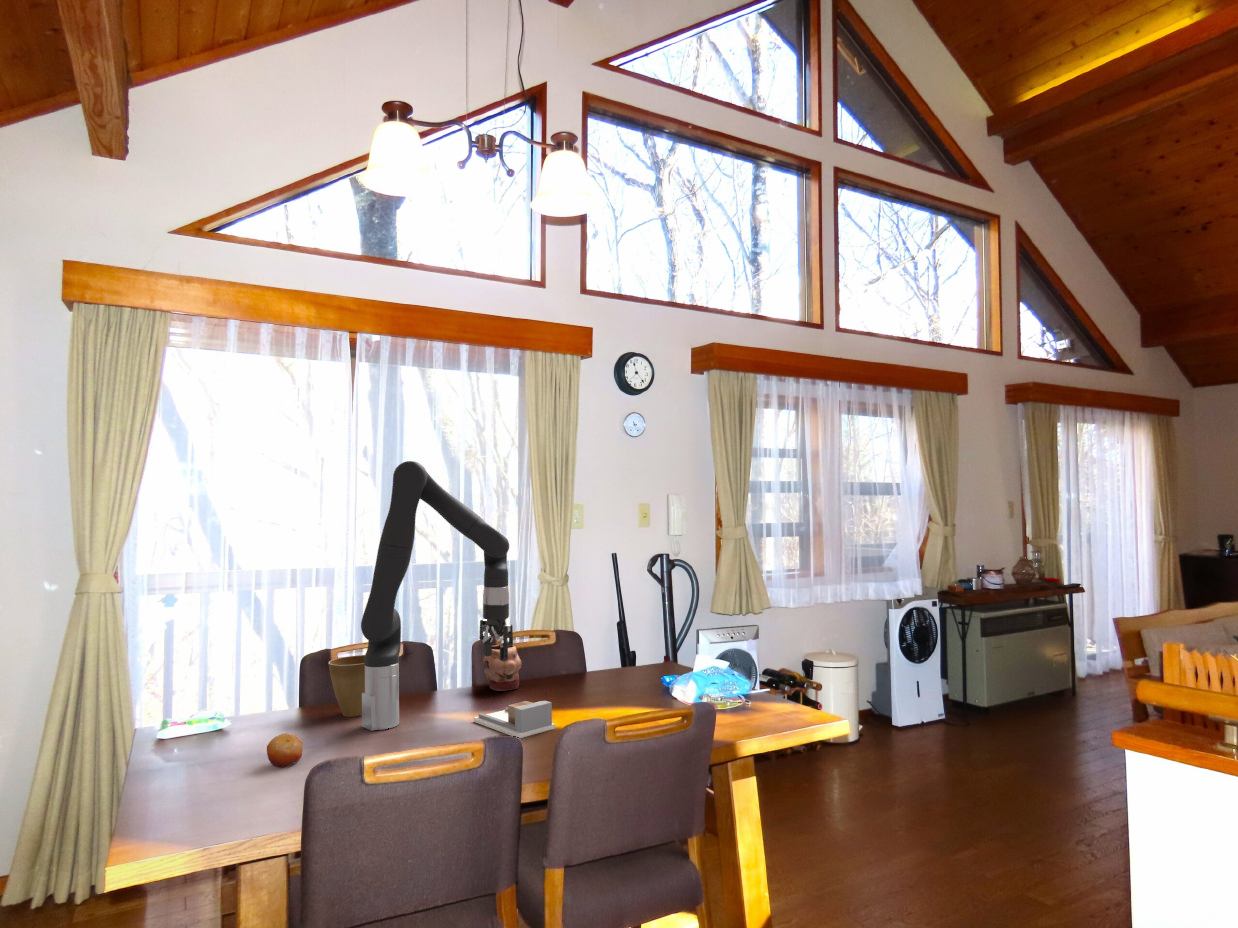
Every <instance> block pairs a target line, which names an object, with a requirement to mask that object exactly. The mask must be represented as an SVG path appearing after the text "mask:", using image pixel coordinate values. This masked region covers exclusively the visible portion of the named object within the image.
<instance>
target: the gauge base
mask: <svg viewBox="0 0 1238 928" xmlns="http://www.w3.org/2000/svg"><path fill="white" fill-rule="evenodd" d="M540 701H541V702H539V701H537V703H535V702H532V703H533V704H529V705H525V706H520V707H516V708H515V725H514V724H512V723H509V722H508V706H507V707H506V706H505V708H504V709H503V710H500V711H496V712H491V713H487V714H485V713H483V712H481V713H478V716H475V717H473V722H474V723H476V724H479V725H482V726H484V727H487V728H490V729H492V730H495V731H497V732H500V733H503V734H505V735H509V736H510V737H513V736H516V737H519V738H518V739H523V738H527V737H529V736H533V735H537V734H540V733H543V732H544V733H545V732H548V731H552V730H555V729H556V724H555V723H553V713H552V711H553V709H552V703H553V702H551V701H547V700H540ZM516 737H515V738H516Z"/></svg>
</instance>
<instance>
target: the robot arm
mask: <svg viewBox="0 0 1238 928" xmlns="http://www.w3.org/2000/svg"><path fill="white" fill-rule="evenodd" d="M392 475H393V476H392V486H391V487H392V488H391V496H390V504H389V510H388V513H387V516H386V519H385V521H384V524H383V527H382V532H381V536H380V539H379V544H378V549H377V555H376V559H375V565H374V570H373V574H372V575H373V577H372V581H371V588H370V593H369V595H368V599H367V602H366V606H365V608H364V611H363V614H362V617H361V621H360V631H361V634H362V635H363V636H364V638H365V639H366V640H367V641H368V642H367V643H368V644H367V649H366V652H365V654H364V655H365V658H364V665H365V692H362V715H361V727H362V728H364V729H367V730H369V731H371V732H372V731H378V730H379V731H381V730H387V729H388V728H389V729H393V728H395V727H398V725H399V724H400V699H399V698H400V692H399V691H400V687H399V686H400V685H399V684H400V681H399V676H400V672H399V657H400V651H401V648H402V647H401V643H402V642H401V640H402V635H401V634H402V633H401V632H402V621H401V616H400V614H399V611H397V609H396V608H395V605H396V599H397V596H398V595H397V594H398V591H399V589H400V587H401V584H402V582H403V581H404V578H405V576H406V573H407V571H408V569H409V566H410V563H411V559H412V554H413V548H414V541H415V535H416V534H415V533H416V517H417V516H416V514H417V509H418V506H419V502H420V500H422V501H423V502H424V503H425V504H427V505H429V506H430V507H431V508H432V509H433V510H435V512H437V513H438V514H439V515H440V516H441V517H442V518H443V519H444V520H445V521H446V522H447V523H449V525H451V527H453V528H454V529H455V530H456V531H458V532H459V533H460V534H462V535H463V536H464V537H465V538H467V539H469V540H471V541H472V542H474V544H475V545H476V546H478V547H479V548H480V549H481V550H482V551H483V562H484V573H483V592H482V618H483V619H481V620H479V639H478V640H480V641H482V643H483V657H484V656H491V655H492V646H493V644H492V642H493V640H494V639H495V640H496V641H497V642H498V645H500V647H501V648H500V660H501V661H506V660H507V659H508V647H509V646H512V645H513V646H514V632H513V631H514V630H513V629H514V628H513V624H511V623H509V624H507V622H506V620H508V618H509V617H510V590H509V570H508V565H507V564H508V552H509V550H510V543H509V540H508V538H507V537H506V536H505V535H504V534H502V533H501V532H500V531H498V530H496V529H495V528H494V527H493V526H491V525H489V523H487V522H486V521H485V520H484V519H483V518H482V517H481V516H479V515H478V514H477V513H476V512H474V510H472V509H471V508H470V507H469V506H467V505H465V504H464V503H463V502H462V501H460V500H458V499H457V498H456V497H455V496H453V495H452V494H450V493H449V492H448V491H446V489H444V488H443V487H442V486H441V485H439V483H437V482H436V480H435V479H434V478H433V477H432V476H431V475H430V474H429V472H428V471H427V470H426V468H425V467H424V465H423V464H421V463H419V462H418V461H414V460H413V461H412V460H408V461H403V462H401V463H400V464H398V465H397V466H396V468H395V469H394V471H393V474H392Z"/></svg>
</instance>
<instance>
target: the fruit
mask: <svg viewBox="0 0 1238 928" xmlns="http://www.w3.org/2000/svg"><path fill="white" fill-rule="evenodd" d="M303 745H304V744H303V741H302V740H301V739H300V738H299V736H297V735H293V734H291V733H281V734H279V735H277V736H275V737H274V738H272V739H271V740H270V741H269V742H268V744H267V745H266V754H267V759H268V761H269V762H270V763H269V764H270V765H273V766H274V767H277V768H278V769H281V768H285V767H288V766H291V765H294V764H297V762H299V761H300V759H302V756H303V751H304V750H303V748H304V747H303Z"/></svg>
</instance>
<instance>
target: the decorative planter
mask: <svg viewBox="0 0 1238 928" xmlns="http://www.w3.org/2000/svg"><path fill="white" fill-rule="evenodd" d="M500 648H501V647H500V645H499V644H498V645H492V655H491V656H484V655H483V658H482V667H483V671H484V673H485V676H486V679H487V682H488V684H489V686H488V687H489V688H490V689H491V690H492V691H496V692H497V691H499V692H500V691H503V692H504V691H511V690H516V689H518V688H519V685H520V677H519V671H520V669H521V668H522V659H520V656H519V654H518V649H517V647H516V646H515V645H514V644H513V645H512V646H509V647H508V659H507V660H506V661H501V660H500Z"/></svg>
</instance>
